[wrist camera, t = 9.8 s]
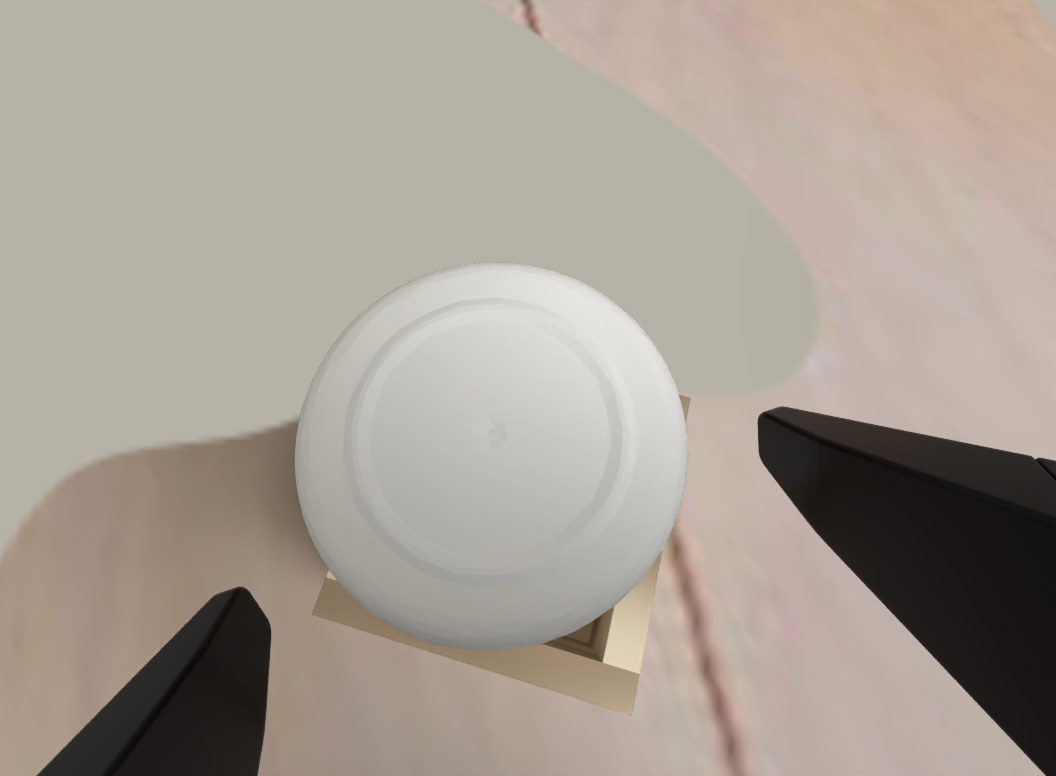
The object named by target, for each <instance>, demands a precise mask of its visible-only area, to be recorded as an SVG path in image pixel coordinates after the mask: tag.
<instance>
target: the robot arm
mask: <svg viewBox="0 0 1056 776" xmlns="http://www.w3.org/2000/svg"><path fill="white" fill-rule="evenodd" d="M758 446H759V455H760V458H761V461H762V462H763V464H764V466H765V467H766V468H767V470H768V471H769V472H770V474H771V475H772V476H773V478H774V479H775V480H776V481H777V483H778V484H779V485H780V487H781V488H782V489H783V491H784V492H785V493H786V494H787V496H788V497H789V498H790V500H791V501H792V502H793V504H794V505H795V506H796V508H797V509H798V510H799V511H800V513H801V514H802V515H803V517H804V518H805V519H806V521H807V522H808V523H809V524H810V525H811V527H812V528H813V529H814V530H815V532H816V533H817V534H818V535H819V536H820V537H821V538H822V539H823V540H824V542H825V543H826V544H827V545H828V546H829V547H830V548H831V549H832V550H833V551H834V552H835V553H836V554H837V555H838V556H839V557H840V559H841V560H842V561H843V562H844V563H845V564H846V565H847V566H848V567H849V568H850V569H851V570H852V571H853V572H854V573H855V574H856V575H857V577H858V578H859V579H860V580H861V581H862V582H863V583H864V584H865V585H866V586H867V587H868V588H869V589H870V590H871V591H872V592H873V593H874V595H875V596H876V597H877V598H878V599H879V600H880V601H881V602H882V603H883V604H884V605H885V606H886V607H887V608H888V609H889V610H890V611H891V612H892V614H893V615H894V616H895V617H896V618H897V619H898V620H899V621H900V622H901V623H902V624H903V625H904V626H905V627H906V628H907V629H908V630H909V632H910V633H911V634H912V635H913V636H914V637H915V638H916V639H917V640H918V641H919V642H920V643H921V644H922V645H923V646H924V647H925V648H926V649H927V651H928V652H929V653H930V654H931V655H932V656H933V657H934V658H935V659H936V660H937V661H938V662H939V663H940V664H941V665H942V666H943V667H944V669H945V670H946V671H947V672H948V673H949V674H950V675H951V676H952V677H953V678H954V679H955V680H956V681H957V682H958V683H959V684H960V685H961V686H962V688H963V689H964V690H965V691H966V692H967V693H968V694H969V695H970V696H971V697H972V698H973V699H974V700H975V701H976V702H977V703H978V704H979V706H980V707H981V708H982V709H983V710H984V711H985V712H986V713H987V714H988V715H989V716H990V717H991V718H992V719H993V720H994V721H995V722H996V724H997V725H998V726H999V727H1000V728H1001V729H1002V730H1003V731H1004V732H1005V733H1006V734H1007V735H1008V736H1009V737H1010V738H1011V739H1012V740H1013V741H1014V743H1015V744H1016V745H1017V746H1018V747H1019V748H1020V749H1021V750H1022V751H1023V752H1024V753H1025V754H1026V755H1027V756H1028V757H1029V758H1030V759H1031V761H1032V762H1033V763H1034V764H1035V765H1036V766H1037V767H1038V768H1039V769H1040V770H1041V771H1042V772H1043V773H1044V774H1045V775H1046V776H1056V461H1054V460H1049V459H1044V458H1037V459H1034V458H1033V457H1032V456H1029V455H1024V454H1018V453H1013V452H1008V451H1003V450H998V449H993V448H988V447H983V446H978V445H973V444H968V443H963V442H958V441H953V440H948V439H943V438H938V437H933V436H928V435H923V434H918V433H913V432H908V431H903V430H898V429H893V428H888V427H883V426H878V425H873V424H868V423H863V422H858V421H854V420H849V419H844V418H839V417H834V416H829V415H824V414H819V413H814V412H809V411H804V410H799V409H794V408H789V407H777V408H774V409H771V410H768V411H765V412H763V413H761V414H760V415H759V418H758ZM270 647H271V627H270V623H269V621H268V619H267V617H266V616H265V614H264V613H263V611H262V610H261V608H260V607H259V605H258V604H257V602H256V601H255V599H254V598H253V596H252V595H251V593H250V592H249V591H248V590H247V589H246V588H244V587H236V588H233V589H230V590H227V591H224V592H221V593H219V594H216V595H215V596H213V597H212V598H211V599H210V600H209V601H208V602H207V603H206V604H205V605H204V606H203V607H202V608H201V609H200V610H199V611H198V612H197V613H196V614H195V615H194V616H193V617H192V618H191V619H190V620H189V621H188V623H187V624H186V625H185V626H184V627H183V628H182V629H181V630H180V631H179V632H178V633H177V634H176V635H175V636H174V637H173V638H172V639H171V640H170V641H169V642H168V643H167V644H166V645H165V646H164V647H163V648H162V649H161V650H160V651H159V652H158V653H157V654H156V655H155V656H154V657H153V658H152V659H151V660H150V661H149V662H148V663H147V664H146V665H145V666H144V667H143V668H142V669H141V670H140V671H139V672H138V673H137V674H136V675H135V676H134V677H133V678H132V679H131V680H130V681H129V682H128V683H127V684H126V685H125V686H124V687H123V688H122V689H121V690H120V692H119V693H118V694H117V695H116V696H115V697H114V698H113V699H112V700H111V701H110V702H109V703H108V704H107V705H106V706H105V707H104V708H103V709H102V710H101V711H100V712H99V713H98V714H97V715H96V716H95V717H94V718H93V719H92V720H91V721H90V722H89V723H88V724H87V725H86V726H85V727H84V728H83V729H82V730H81V731H80V732H79V733H78V734H77V735H76V736H75V737H74V738H73V739H72V740H71V741H70V742H69V743H68V744H67V745H66V746H65V747H64V748H63V749H62V750H61V751H60V752H59V753H58V754H57V755H56V756H55V757H54V758H53V759H52V761H51V762H50V763H49V764H48V765H47V766H46V767H45V768H44V769H43V770H42V771H41V772H40V773H39V774H38V775H37V776H257V775H258V769H259V763H260V757H261V751H262V745H263V738H264V732H265V721H266V709H267V694H268V678H269V662H270Z"/></svg>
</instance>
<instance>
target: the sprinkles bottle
mask: <svg viewBox="0 0 1056 776" xmlns="http://www.w3.org/2000/svg"><path fill="white" fill-rule="evenodd" d="M687 464H688V446H687V433H686V423H685V418H684V413H683V409H682V404H681V401H680V398H679V395H678V391H677V387H676V385H675V383H674V381H673V377H672V375H671V373H670V371H669V369H668V368H667V365H666V363H665V361H664V359H663V358H662V356H661V355H660V353H659V351H658V350H657V348H656V347H655V345H654V344H653V342H652V341H651V339H650V338H649V337H648V336H647V335H646V333H645V332H644V331H643V330H642V329H641V327H640V326H639V325H638V324H637V323H636V322H635V321H634V320H633V319H632V318H631V316H629V315H628V314H627V313H626V312H625V311H624V310H622V309H621V308H620V307H619V306H618V305H616V304H615V303H614V302H613V301H611V300H610V299H609V298H607V297H606V296H604V295H603V294H601V293H600V292H599V291H597V290H595V289H593V288H592V287H590V286H588V285H586V284H584V283H582V282H580V281H578V280H575V279H573V278H571V277H568V276H566V275H563V274H560V273H558V272H555V271H551V270H547V269H543V268H540V267H535V266H530V265H524V264H516V263H502V262H495V263H494V262H493V263H474V264H465V265H460V266H455V267H451V268H446V269H443V270H439V271H436V272H433V273H430V274H427V275H424V276H422V277H419V278H417V279H415V280H412V281H410V282H408V283H406V284H404V285H402V286H400V287H398V288H396V289H395V290H393V291H392V292H390V293H388V294H387V295H385V296H384V297H382V298H381V299H379V300H378V301H377V302H375V303H374V304H373V305H371V306H370V307H369V308H368V309H367V310H365V311H364V312H363V313H362V314H361V315H360V316H358V317H357V318H356V319H355V321H353V322H352V323H351V324H350V325H349V326H348V327H347V328H346V329H345V330H344V332H343V333H342V334H341V336H340V337H339V338H338V339H337V341H336V342H335V343H334V344H333V346H332V347H331V348H330V350H329V351H328V353H327V354H326V356H325V358H324V360H323V361H322V363H321V365H320V367H319V369H318V371H317V372H316V374H315V376H314V378H313V380H312V383H311V385H310V388H309V391H308V393H307V396H306V399H305V401H304V404H303V406H302V410H301V415H300V419H299V424H298V428H297V436H296V445H295V479H296V485H297V492H298V497H299V502H300V506H301V510H302V515H303V518H304V521H305V524H306V526H307V529H308V532H309V534H310V537H311V540H312V542H313V543H314V545H315V547H316V549H317V551H318V553H319V555H320V556H321V558H322V559H323V561H324V562H325V564H326V565H327V567H328V568H329V570H330V571H331V573H332V574H333V576H334V577H335V579H336V580H337V581H338V582H339V583H340V584H341V586H342V587H343V588H344V589H345V590H346V591H347V592H348V593H349V594H350V595H351V596H352V597H353V598H354V599H355V600H356V601H357V602H358V603H359V604H360V605H361V606H362V607H364V608H365V609H366V610H367V611H368V612H370V613H371V614H372V615H373V616H375V617H376V618H378V619H379V620H381V621H383V622H385V623H387V624H388V625H390V626H392V627H393V628H395V629H397V630H399V631H401V632H403V633H405V634H407V635H409V636H411V637H414V638H417V639H420V640H423V641H425V642H428V643H431V644H435V645H439V646H443V647H448V648H455V649H463V650H469V651H506V650H512V649H518V648H524V647H530V646H534V645H538V644H542V643H546V642H548V641H551V640H554V639H557V638H559V637H562V636H565V635H567V634H570V633H572V632H575V631H576V630H578V629H580V628H581V627H583V626H585V625H587V624H588V623H590V622H592V621H593V620H595V619H596V618H598V617H599V616H601V615H602V614H604V613H605V612H607V611H608V610H609V609H611V608H612V607H614V606H615V605H617V604H618V603H619V602H620V601H621V600H622V599H623V598H624V597H625V596H626V595H627V594H628V593H629V592H630V591H631V590H632V589H633V588H634V587H635V586H636V585H637V584H638V583H639V582H640V581H641V579H642V578H643V576H644V575H645V574H646V572H647V571H648V570H649V568H650V567H651V565H652V564H653V563H654V561H655V560H656V559H657V557H658V556H659V555H660V553H661V551H662V550H663V548H664V546H665V544H666V542H667V540H668V538H669V536H670V533H671V531H672V528H673V526H674V524H675V521H676V518H677V515H678V512H679V509H680V506H681V502H682V498H683V494H684V488H685V481H686V474H687Z"/></svg>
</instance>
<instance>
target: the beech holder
mask: <svg viewBox="0 0 1056 776" xmlns="http://www.w3.org/2000/svg"><path fill="white" fill-rule="evenodd" d="M679 398H680V401H681V404H682V409H683V413H684V418H685V423H686V419H687V414H688V409H689V403H690V398H689V397H685V396H681V395H679ZM661 555H662V551H661V553H660V555H659V556H658V557H657V559H656V560H655V561H654V563H653V564H652V565H651V567H650V568H649V570H648V571H647V572H646V574H645V575H644V576H643V578H642V579H641V581H640V582H639V583H638V584H637V585H636V586H635V587H634V588H633V589H632V590H631V591H630V592H629V593H628V594H627V595H626V596H625V597H624V598H623V599H622V600H621V601H620V602H619V603H618V604H617V605H615V606H614V607H612V608H611V609H609V610H608V611H607V612H605V613H604V614H602V615H601V616H599V617H598V618H596V619H595V620H593V621H592V622H590V623H588V624H587V625H585V626H583V627H581V628H580V629H578V630H576V631H575V632H572V633H570V634H567V635H565V636H562V637H559V638H557V639H554V640H551V641H548V642H546V643H542V644H538V645H534V646H530V647H524V648H518V649H512V650H506V651H469V650H463V649H455V648H448V647H443V646H439V645H435V644H431V643H428V642H425V641H423V640H420V639H417V638H414V637H411V636H409V635H407V634H405V633H403V632H401V631H399V630H397V629H395V628H393V627H392V626H390V625H388V624H387V623H385V622H383V621H381V620H379V619H378V618H376V617H375V616H373V615H372V614H371V613H370V612H368V611H367V610H366V609H365V608H364V607H362V606H361V605H360V604H359V603H358V602H357V601H356V600H355V599H354V598H353V597H352V596H351V595H350V594H349V593H348V592H347V591H346V590H345V589H344V588H343V587H342V586H341V584H340V583H339V582H338V581H337V580H336V579H335V577H334V576H333V574H332V573H331V571H330V570H329V571H328V573H327V576H326V578H325V581H324V584H323V586H322V589H321V592H320V594H319V597H318V599H317V602H316V605H315V607H314V610H313V613H312V615H315V616H318V617H321V618H325V619H328V620H331V621H334V622H337V623H340V624H344V625H347V626H350V627H353V628H356V629H359V630H363V631H366V632H369V633H372V634H375V635H378V636H382V637H385V638H388V639H391V640H394V641H397V642H400V643H404V644H407V645H410V646H413V647H416V648H419V649H423V650H426V651H429V652H432V653H435V654H438V655H442V656H445V657H448V658H451V659H454V660H457V661H460V662H464V663H467V664H470V665H473V666H476V667H479V668H483V669H486V670H489V671H492V672H495V673H498V674H502V675H505V676H508V677H511V678H514V679H517V680H521V681H524V682H527V683H530V684H533V685H536V686H539V687H543V688H546V689H549V690H552V691H555V692H558V693H562V694H565V695H568V696H571V697H574V698H577V699H581V700H584V701H587V702H590V703H593V704H596V705H600V706H603V707H606V708H609V709H612V710H615V711H618V712H622V713H625V714H628V715H631V716H632V712H633V706H634V701H635V696H636V690H637V685H638V679H639V674H640V668H641V663H642V658H643V652H644V647H645V641H646V636H647V631H648V625H649V620H650V614H651V609H652V603H653V598H654V593H655V587H656V582H657V576H658V571H659V566H660V560H661Z"/></svg>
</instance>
